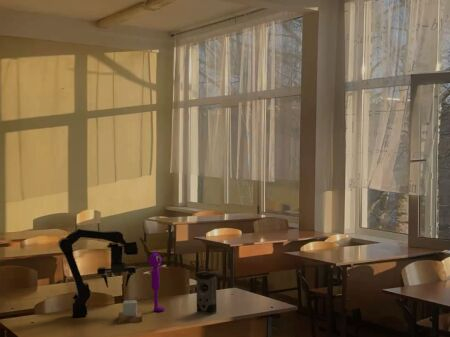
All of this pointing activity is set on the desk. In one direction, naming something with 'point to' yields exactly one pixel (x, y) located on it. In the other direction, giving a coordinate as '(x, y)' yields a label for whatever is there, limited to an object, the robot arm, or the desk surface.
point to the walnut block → (129, 318)
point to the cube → (130, 308)
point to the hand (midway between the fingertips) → (116, 287)
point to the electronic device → (206, 292)
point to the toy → (155, 277)
